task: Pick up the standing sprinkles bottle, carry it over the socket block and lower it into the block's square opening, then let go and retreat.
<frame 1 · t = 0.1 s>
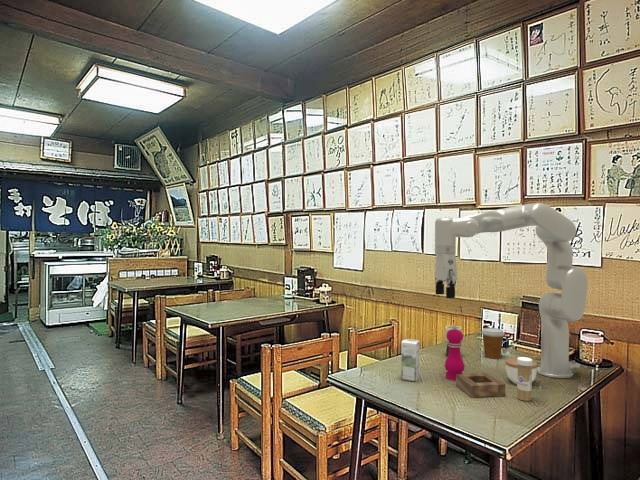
hand: (444, 296, 165), 31 cm above the table, fingers open, 9 cm apart
disposable coffee cup: (492, 357, 195), on the table
sprinkles bottle: (524, 399, 145), on the table
socket block: (479, 390, 153), on the table
pepper mill: (454, 378, 166), on the table
syrup box: (410, 379, 165), on the table
character mug: (453, 356, 196), on the table
lidded jar: (520, 383, 161), on the table
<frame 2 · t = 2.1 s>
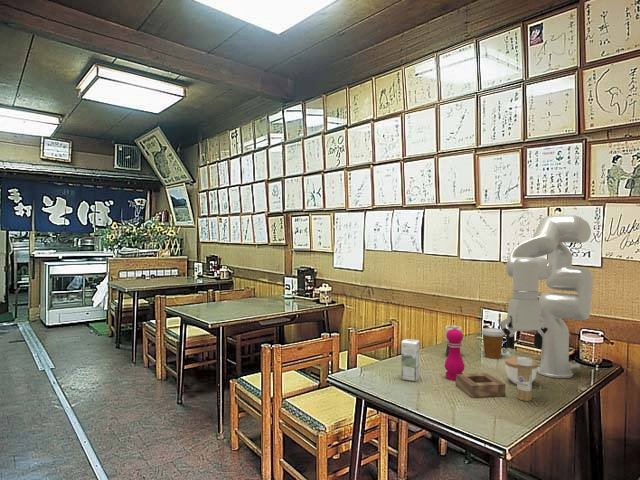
hand: (524, 347, 145), 17 cm above the table, fingers open, 9 cm apart
nothing on the table moved.
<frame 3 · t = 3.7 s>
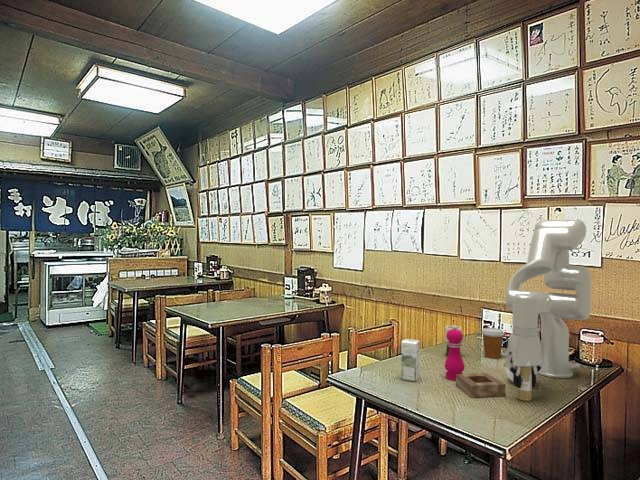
hand: (524, 385, 145), 4 cm above the table, fingers closed on sprinkles bottle, 4 cm apart
sprinkles bottle: (524, 399, 145), on the table, touching gripper
everything else where it was.
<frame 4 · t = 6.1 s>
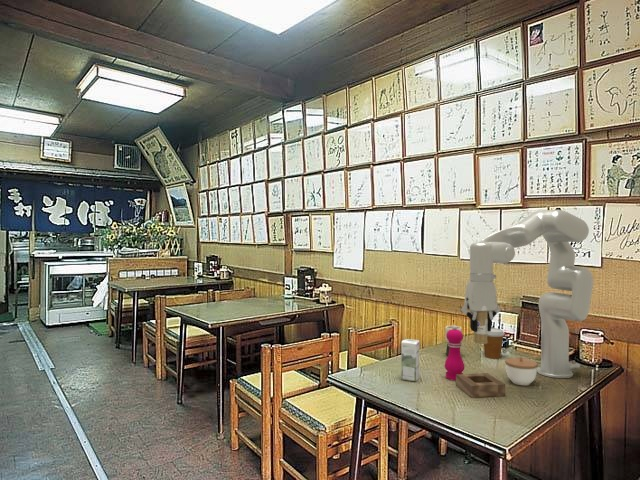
hand: (480, 330, 152), 21 cm above the table, fingers closed on sprinkles bottle, 4 cm apart
sprinkles bottle: (480, 343, 152), point 17 cm above the table, touching gripper
everything else where it was.
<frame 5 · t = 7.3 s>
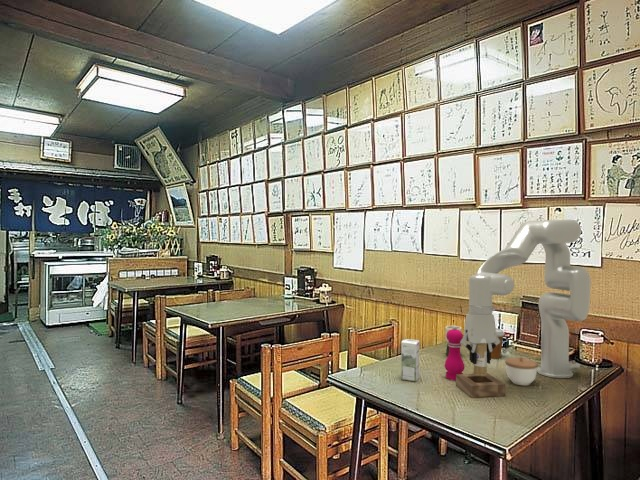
hand: (480, 362, 153), 10 cm above the table, fingers closed on sprinkles bottle, 4 cm apart
sprinkles bottle: (480, 375, 153), point 5 cm above the table, touching gripper
everything else where it was.
when the fingers open (6 cm above the table, at t = 8.4 s): sprinkles bottle drops 1 cm, resting on socket block.
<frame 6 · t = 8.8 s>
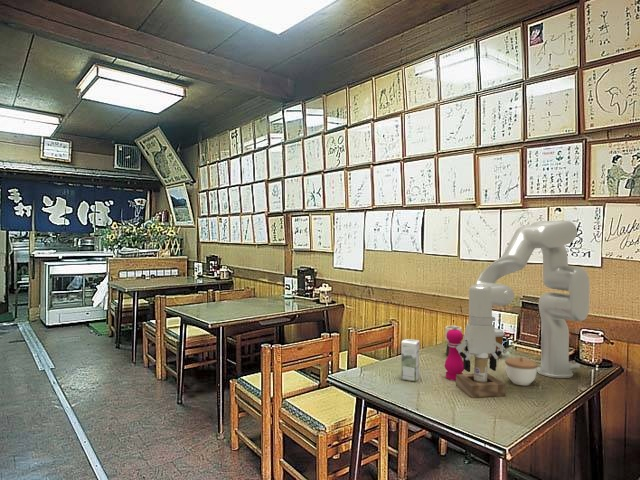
hand: (479, 370, 153), 7 cm above the table, fingers open, 9 cm apart
sprinkles bottle: (480, 390, 153), resting on socket block
everything else where it was.
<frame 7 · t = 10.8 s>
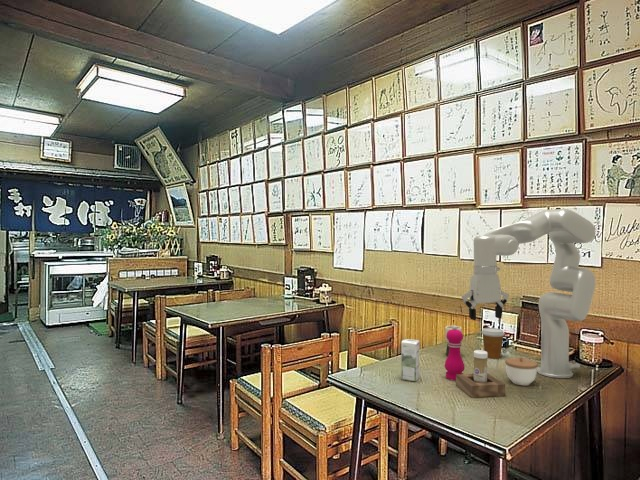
hand: (485, 318, 156), 25 cm above the table, fingers open, 9 cm apart
nothing on the table moved.
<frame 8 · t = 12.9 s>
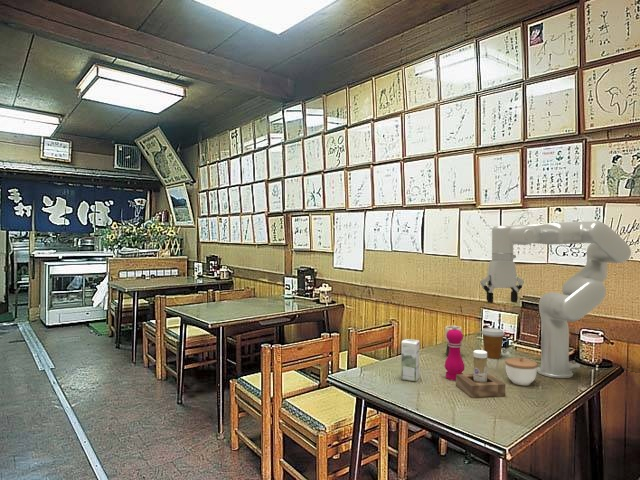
hand: (502, 302, 168), 28 cm above the table, fingers open, 9 cm apart
nothing on the table moved.
at the end: sprinkles bottle 0.2 cm off-centre on the socket block, point 0.1 cm above the socket block's base; sprinkles bottle tilted 0°; the gripper is holding nothing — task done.
